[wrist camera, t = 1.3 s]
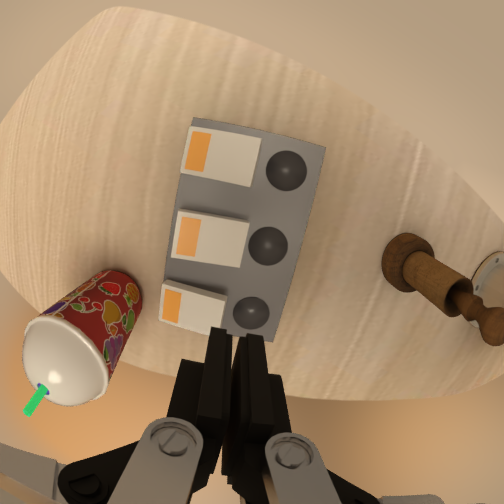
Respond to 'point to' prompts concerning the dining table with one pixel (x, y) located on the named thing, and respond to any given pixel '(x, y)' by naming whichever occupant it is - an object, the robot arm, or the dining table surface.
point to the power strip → (253, 229)
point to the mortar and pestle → (439, 285)
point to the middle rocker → (209, 238)
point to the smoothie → (80, 340)
